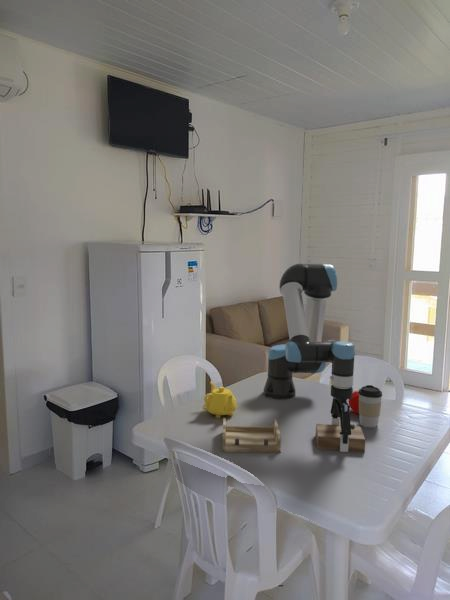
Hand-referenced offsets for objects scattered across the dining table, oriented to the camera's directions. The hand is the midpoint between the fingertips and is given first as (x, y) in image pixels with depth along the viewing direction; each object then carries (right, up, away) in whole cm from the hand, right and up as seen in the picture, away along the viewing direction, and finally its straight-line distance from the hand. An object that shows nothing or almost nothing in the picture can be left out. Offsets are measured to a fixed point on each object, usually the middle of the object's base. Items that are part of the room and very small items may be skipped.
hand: (339, 442), depth 162 cm
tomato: (+17, +3, +30) cm, 34 cm away
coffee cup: (+16, +2, +18) cm, 24 cm away
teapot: (-44, +3, +26) cm, 51 cm away
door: (0, -1, 0) cm, 1 cm away
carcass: (-32, 0, 0) cm, 32 cm away
